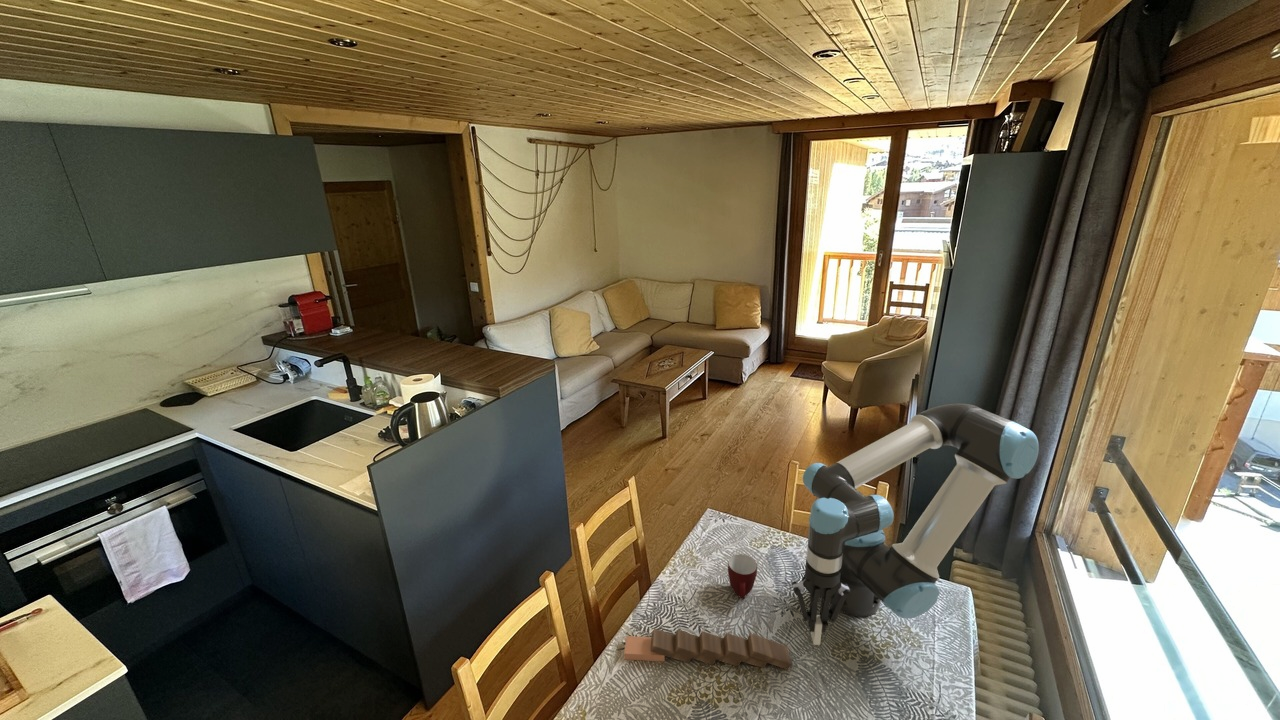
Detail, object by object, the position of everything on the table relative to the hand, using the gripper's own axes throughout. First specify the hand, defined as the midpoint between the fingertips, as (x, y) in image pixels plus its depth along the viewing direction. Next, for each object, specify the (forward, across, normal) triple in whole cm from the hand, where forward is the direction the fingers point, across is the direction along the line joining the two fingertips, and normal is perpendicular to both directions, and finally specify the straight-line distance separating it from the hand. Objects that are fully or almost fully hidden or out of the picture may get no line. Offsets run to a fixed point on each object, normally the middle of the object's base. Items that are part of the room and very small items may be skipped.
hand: (815, 639), depth 119 cm
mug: (+7, +16, -19) cm, 26 cm away
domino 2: (+5, +30, +1) cm, 31 cm away
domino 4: (+6, +18, +1) cm, 19 cm away
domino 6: (+6, +6, +1) cm, 9 cm away
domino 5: (+6, +12, +1) cm, 13 cm away
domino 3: (+5, +24, +1) cm, 25 cm away
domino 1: (+5, +37, +1) cm, 37 cm away
